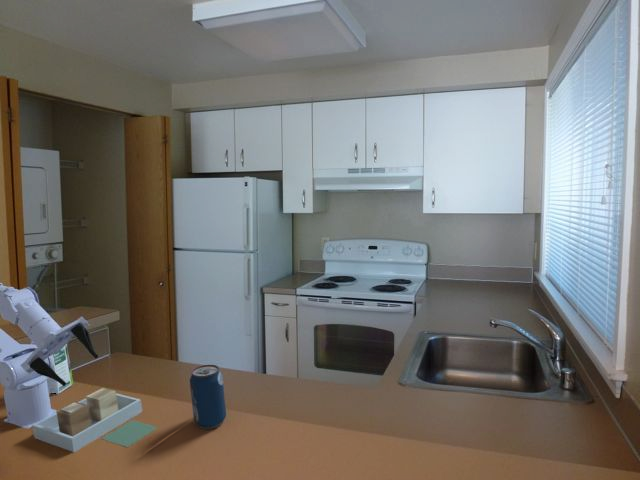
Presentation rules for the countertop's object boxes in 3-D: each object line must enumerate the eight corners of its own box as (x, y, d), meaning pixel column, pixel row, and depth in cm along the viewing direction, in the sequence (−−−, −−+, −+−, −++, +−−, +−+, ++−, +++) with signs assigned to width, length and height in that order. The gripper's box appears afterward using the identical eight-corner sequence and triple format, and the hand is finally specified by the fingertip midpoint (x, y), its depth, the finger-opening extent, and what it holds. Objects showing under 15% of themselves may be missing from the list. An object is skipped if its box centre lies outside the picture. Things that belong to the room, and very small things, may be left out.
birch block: (89, 419, 110) (85, 396, 109) (106, 410, 114) (102, 387, 113) (102, 423, 108) (98, 399, 107) (118, 413, 112) (115, 391, 111)
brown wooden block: (60, 435, 104) (56, 410, 103) (78, 424, 108) (75, 400, 107) (73, 439, 102) (69, 414, 101) (91, 429, 106) (88, 404, 105)
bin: (34, 440, 104) (32, 425, 103) (104, 403, 119) (102, 389, 118) (74, 454, 97) (71, 438, 97) (142, 413, 112) (140, 399, 112)
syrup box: (58, 394, 125) (50, 340, 123) (38, 393, 126) (30, 340, 124) (74, 384, 130) (66, 332, 128) (54, 383, 132) (46, 332, 129)
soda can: (232, 415, 109) (227, 364, 107) (216, 432, 102) (210, 378, 100) (205, 412, 111) (200, 362, 109) (187, 428, 105) (182, 375, 103)
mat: (101, 441, 102) (101, 438, 102) (132, 422, 109) (132, 419, 109) (127, 449, 98) (127, 447, 98) (158, 429, 105) (158, 427, 105)
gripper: (1, 345, 99) (39, 390, 94) (64, 297, 105) (103, 337, 101) (17, 358, 104) (54, 400, 100) (76, 312, 111) (113, 349, 107)
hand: (79, 369), depth 101 cm, fingers open, 7 cm apart
